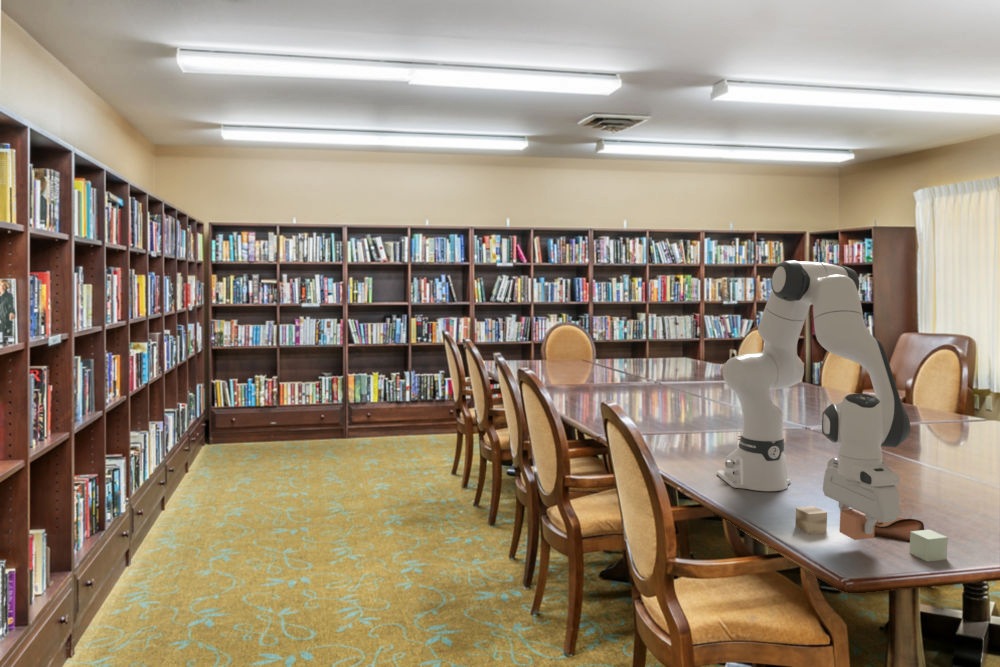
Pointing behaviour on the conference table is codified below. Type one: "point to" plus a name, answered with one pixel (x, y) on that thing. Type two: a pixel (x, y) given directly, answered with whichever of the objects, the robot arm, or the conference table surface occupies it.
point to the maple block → (811, 520)
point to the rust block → (853, 524)
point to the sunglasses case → (897, 528)
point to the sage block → (928, 545)
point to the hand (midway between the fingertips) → (857, 527)
